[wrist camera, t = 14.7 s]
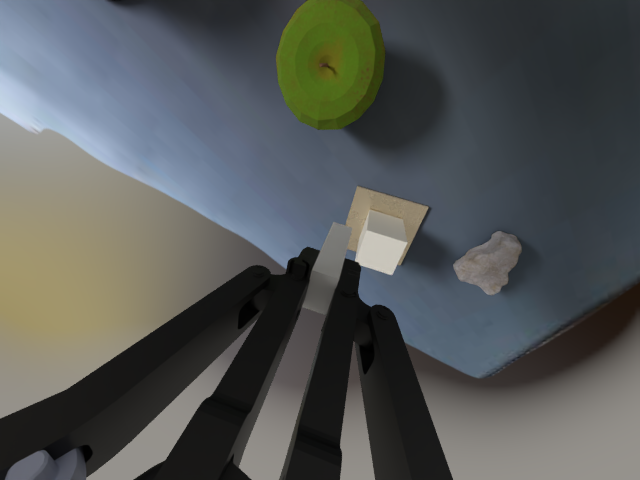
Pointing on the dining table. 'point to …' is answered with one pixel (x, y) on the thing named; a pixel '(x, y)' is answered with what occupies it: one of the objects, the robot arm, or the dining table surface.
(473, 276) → the stone
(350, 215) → the square base with post
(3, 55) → the dining table surface
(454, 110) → the dining table surface
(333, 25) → the green apple
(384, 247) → the cream cuboid
